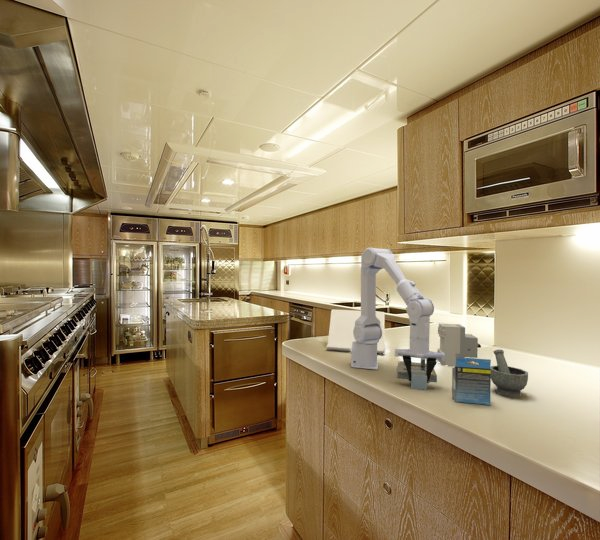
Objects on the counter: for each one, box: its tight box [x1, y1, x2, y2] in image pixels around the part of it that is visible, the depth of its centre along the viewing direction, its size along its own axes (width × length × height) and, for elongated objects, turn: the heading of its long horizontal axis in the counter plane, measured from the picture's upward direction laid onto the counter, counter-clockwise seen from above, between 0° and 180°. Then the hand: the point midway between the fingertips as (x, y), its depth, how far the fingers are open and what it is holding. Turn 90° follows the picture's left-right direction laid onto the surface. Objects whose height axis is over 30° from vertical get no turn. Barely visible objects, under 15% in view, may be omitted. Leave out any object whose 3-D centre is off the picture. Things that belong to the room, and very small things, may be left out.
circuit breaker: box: [436, 322, 482, 367], centre depth 127 cm, size 8×14×15 cm, turn 78°
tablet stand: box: [325, 309, 386, 354], centre depth 149 cm, size 18×25×17 cm
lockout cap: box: [410, 370, 428, 391], centre depth 101 cm, size 4×6×4 cm
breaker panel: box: [397, 360, 438, 383], centre depth 113 cm, size 12×14×2 cm
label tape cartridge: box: [451, 357, 492, 406], centre depth 90 cm, size 9×4×12 cm, turn 77°
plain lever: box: [420, 358, 426, 366], centre depth 116 cm, size 1×3×3 cm, turn 164°
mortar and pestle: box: [490, 349, 529, 399], centre depth 97 cm, size 11×9×12 cm
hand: (418, 381), depth 101 cm, fingers closed on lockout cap, 4 cm apart
